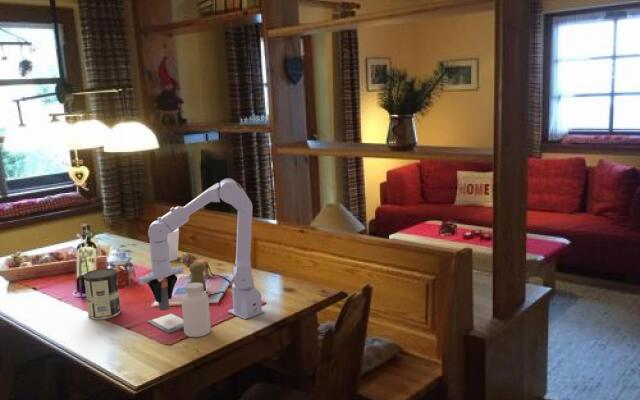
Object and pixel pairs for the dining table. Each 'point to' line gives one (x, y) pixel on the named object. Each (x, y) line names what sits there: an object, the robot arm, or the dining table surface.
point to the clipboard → (168, 323)
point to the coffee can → (102, 293)
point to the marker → (164, 294)
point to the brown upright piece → (197, 274)
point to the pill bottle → (195, 311)
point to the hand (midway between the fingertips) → (163, 299)
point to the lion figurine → (189, 259)
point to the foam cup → (173, 244)
